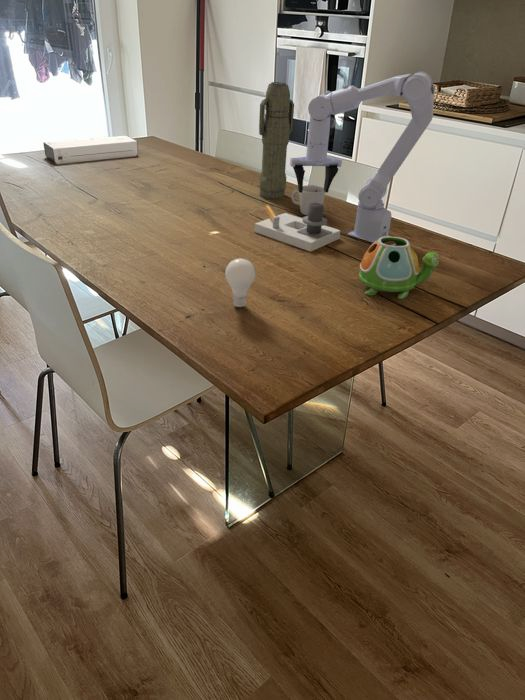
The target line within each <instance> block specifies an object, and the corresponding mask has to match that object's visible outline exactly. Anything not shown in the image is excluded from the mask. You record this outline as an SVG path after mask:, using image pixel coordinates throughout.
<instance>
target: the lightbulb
mask: <svg viewBox="0 0 525 700" xmlns="http://www.w3.org/2000/svg"><path fill="white" fill-rule="evenodd" d="M224 275H225V276H224V277H225V280H226V282H227V283H228V285H229V286H230V288H231V293H232V295H233V301H232V302H233V306H235V307H237V308H240V309H241V308H244V307H245V306H246V304H247V303H246V300H247V294H248V290H249V289H250V287H251V285H252V284H253V283H254V281H255V279H256V269H255V266H254V265H253V263H252V262H251V261H250V260H248V259H246V258H242V257H241V258H235V259H233V260H231V261H230V262H229V263H228V264H227V266H226V268H225V272H224Z"/></svg>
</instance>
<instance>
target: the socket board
mask: <svg viewBox="0 0 525 700" xmlns="http://www.w3.org/2000/svg"><path fill="white" fill-rule="evenodd" d="M277 216H278V217H280V219H279V228H273V221H272V219H271V218H270V217H269V218H267V219H264V220H261V221H257V222H255V223H254V233H256V234H259V235H262V236H266V237H268V238H271V239H274V240H276V241H279V242H282V243H284V244H288V245H290V246H293V247H296V248H299V249H301V250H305V251H308V252H313V251H315V250H317V249H320V248H322V247H324V246H326V245H329V244H332V242H336V241H337V240H340V237H341V230H340V229H337V228H335V227H331V226H328V225H323V226H321V233H318V234H312V233H309V232H307V224H305V223H303V221H302V220H303V217H299V216H296V215H294V214H290V213H287V212H284V213H281V214H278V215H277Z"/></svg>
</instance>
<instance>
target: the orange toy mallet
mask: <svg viewBox="0 0 525 700" xmlns="http://www.w3.org/2000/svg"><path fill="white" fill-rule="evenodd" d="M265 212H266V213H267V214H268V217H269V218H271V219H272V221H273V228H279V219H280V217H278V215H276V214H275V213H274V211H273V209H272V208H271V207H270V205H268V204H266V205H265Z"/></svg>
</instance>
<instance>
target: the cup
mask: <svg viewBox="0 0 525 700" xmlns="http://www.w3.org/2000/svg"><path fill="white" fill-rule="evenodd" d="M296 194H298V197H299V200H296V198H295V196H296ZM325 197H326V192H325V191H324V187H322V186H318V185H311V184H310V185H309V184H307V185H303V191H302V193H300V192H299V191H298V189H294V190H293V191H292V192H291V201H292V203H293V204H294V205H297V206H299V210H300V213H301V214H302V215H303V216H308V211H309V204H311V203H319V204H322V205H324V201H325Z"/></svg>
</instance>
